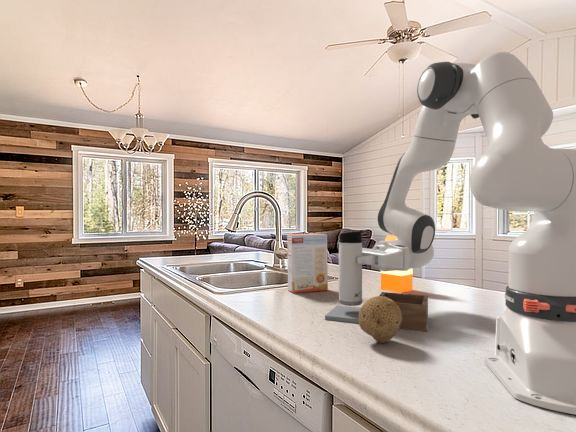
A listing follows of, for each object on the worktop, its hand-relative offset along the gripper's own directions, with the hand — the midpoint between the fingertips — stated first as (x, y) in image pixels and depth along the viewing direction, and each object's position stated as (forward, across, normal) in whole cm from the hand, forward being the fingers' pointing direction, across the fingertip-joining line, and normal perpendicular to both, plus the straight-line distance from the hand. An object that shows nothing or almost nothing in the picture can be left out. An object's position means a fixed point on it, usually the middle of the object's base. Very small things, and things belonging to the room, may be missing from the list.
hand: (348, 258), depth 97 cm
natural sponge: (+7, +20, +16) cm, 26 cm away
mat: (-1, 0, +16) cm, 16 cm away
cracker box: (-8, -34, +16) cm, 39 cm away
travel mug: (-1, 0, +12) cm, 13 cm away
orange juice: (-38, -20, +16) cm, 46 cm away
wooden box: (-9, +11, +16) cm, 21 cm away
